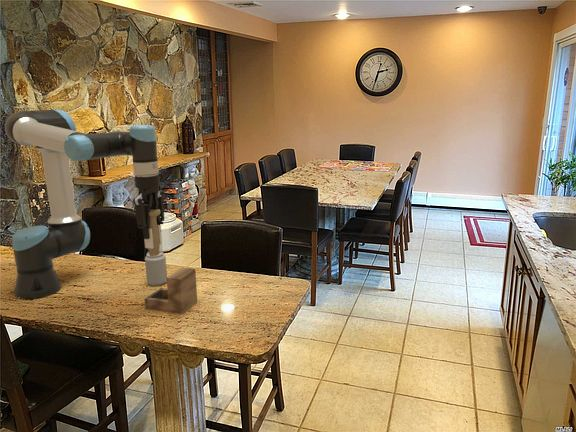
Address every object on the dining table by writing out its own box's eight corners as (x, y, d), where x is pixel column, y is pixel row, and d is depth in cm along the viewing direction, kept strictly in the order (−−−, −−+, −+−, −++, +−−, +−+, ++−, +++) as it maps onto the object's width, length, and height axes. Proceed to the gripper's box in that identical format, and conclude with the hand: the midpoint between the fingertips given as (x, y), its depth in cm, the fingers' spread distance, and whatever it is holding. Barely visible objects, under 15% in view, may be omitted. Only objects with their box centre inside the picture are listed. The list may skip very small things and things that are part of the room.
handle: (159, 257, 151) (155, 212, 147) (141, 256, 152) (137, 211, 149) (166, 253, 155) (162, 209, 152) (149, 252, 157) (145, 208, 153)
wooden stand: (145, 308, 157) (142, 275, 154) (162, 296, 166) (159, 264, 163) (182, 313, 152) (180, 279, 150) (197, 301, 162) (195, 268, 159)
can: (142, 285, 177) (140, 254, 174) (155, 278, 183) (152, 249, 180) (159, 287, 174) (156, 257, 171) (171, 280, 181) (169, 251, 178)
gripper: (140, 179, 139) (147, 254, 144) (171, 171, 154) (177, 239, 160) (119, 178, 141) (127, 252, 147) (152, 170, 157) (158, 238, 162)
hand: (153, 245), depth 153 cm, fingers closed on handle, 4 cm apart
